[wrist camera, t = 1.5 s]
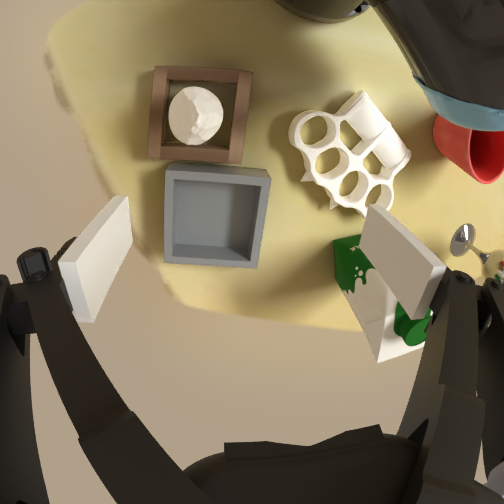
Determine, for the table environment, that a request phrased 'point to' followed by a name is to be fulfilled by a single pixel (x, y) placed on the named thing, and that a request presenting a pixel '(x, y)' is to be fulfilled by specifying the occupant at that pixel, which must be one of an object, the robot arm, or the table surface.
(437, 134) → the flower pot
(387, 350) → the milk carton
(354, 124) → the white brass knuckles
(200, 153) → the holder
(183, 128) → the white tall rounded piece
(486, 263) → the wine glass
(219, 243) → the tray
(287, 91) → the table surface
